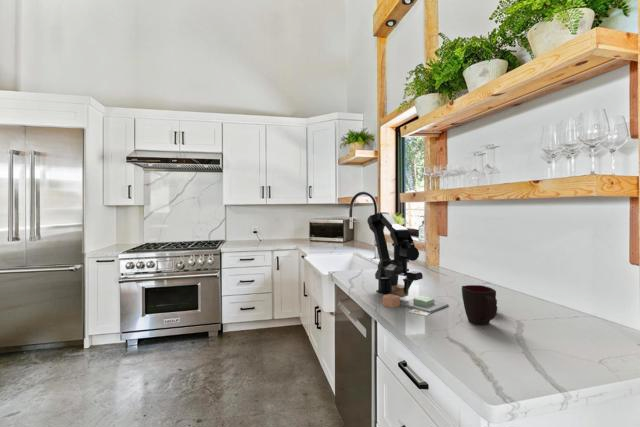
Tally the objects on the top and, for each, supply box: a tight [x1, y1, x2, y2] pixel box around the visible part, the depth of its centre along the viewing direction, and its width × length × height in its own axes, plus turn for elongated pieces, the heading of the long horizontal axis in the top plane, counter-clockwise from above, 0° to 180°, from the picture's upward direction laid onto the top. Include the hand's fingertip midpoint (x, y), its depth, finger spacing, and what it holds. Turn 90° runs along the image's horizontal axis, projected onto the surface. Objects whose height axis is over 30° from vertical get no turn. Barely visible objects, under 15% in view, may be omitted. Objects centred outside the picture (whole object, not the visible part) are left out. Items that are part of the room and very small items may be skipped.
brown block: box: [391, 283, 409, 299], centre depth 140 cm, size 5×5×4 cm
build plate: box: [400, 295, 449, 314], centre depth 133 cm, size 14×14×3 cm
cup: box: [461, 284, 498, 326], centre depth 111 cm, size 10×14×12 cm
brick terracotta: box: [382, 293, 401, 309], centre depth 133 cm, size 5×5×4 cm
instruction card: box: [408, 308, 431, 317], centre depth 124 cm, size 7×5×1 cm
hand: (400, 292), depth 141 cm, fingers closed on brown block, 5 cm apart
